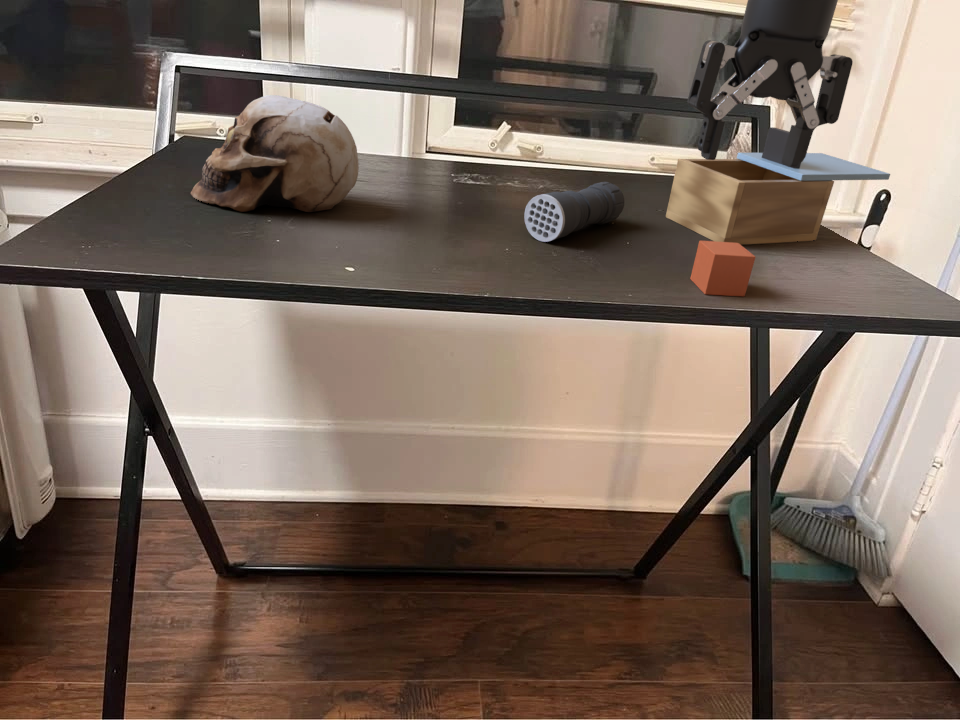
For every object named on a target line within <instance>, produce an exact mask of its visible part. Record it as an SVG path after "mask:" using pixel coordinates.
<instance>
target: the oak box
mask: <svg viewBox="0 0 960 720" xmlns="http://www.w3.org/2000/svg"><path fill="white" fill-rule="evenodd" d="M834 184H835V180H822V181H800V180H797V179H794V178H792V177H789V176H786V175H783V174H780V173H777V172H774V171H772V170H769V169H766V168H763V167H760V166H757V165H754V164H752V163H749V162H746V161H743V160H740V159H737V158H716V159H715V160H707V159H705V158H678V159H677V162H676V167H675V172H674V175H673V180H672V185H671V190H670V194H669V200H668V204H667V208H666V212H665V213H666V214H665V218H667V219H668V220H671V221H673V222H674V223H676V224H679V225H681V226H682V227H684V228H687V229H688V230H690V231H692V232H695V233H697V234H699V235H701V236H702V237H705V238H707V239H709V241H716V242H731V243H739V244H740V245H741V246H743V245H760V244H775V243H776V244H777V243H794V242H797V241H798V242H814V241H813V240H815V241H817V238H818V234H819V231H820V228H821V225H822V222H823V219H824V216H825V212H826V210H827V206H828V204H829V199H830V197H831V194H832V190H833V187H834Z"/></svg>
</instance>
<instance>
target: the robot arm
mask: <svg viewBox="0 0 960 720" xmlns="http://www.w3.org/2000/svg"><path fill="white" fill-rule="evenodd" d="M838 1H839V0H747V2H746V7H745V10H744V14H743V19H742V21H741V22H742V23H741V28H740V34H739V38H738V40H737V41H736V42H735V44H734V45H728V44H725V43H722V42H719V41H716V40H712V39H709V40H705V42H703V44H702V47H701V50H700V55H699V58H698V62H697V65H696V67H695V68H696V69H695V72H694V75H693V79H692V83H691V86H690V90H689V93H688V98H687V104H688V106H689V107H691V108H693V109H695V110H696V111H699V112H700V113H701V114H702V117H703V120H702V123H701V129H700V133H699V139H698V140H697V150H698V151H699V152H700V157H702V159H707V160H715V159H717V155H718V151H719V149H720V143H721V139H722V135H723V132H724V131H723V130H724V128H725V123H726V121H724V120H723V119H724V118H725V117H726V116H727V115H728V114H729V113H730V112H731V111H732V110H733V109H734V108H735V107H736V106H737V105H739V104H741V103H743V102H744V101H745V100H746V99H747V98H748V97H749V96H750V97H753V98H759V99H766V98H773V99H775V100H778V101H785V102H786V104H787V105H788V106H789V109H790V111H791V114H792V116H793V118H794V121H795V124H791V126H790V128H789V136H788V139H787V142H786V146H785V149H784V153H783V156H782V164H784V165H786V166H788V167H794V168H796V167H797V166H798V165H799V162H802V161H803V160H804V158H805V157H806V153H808V149H809V146H810V143H811V140H812V137H813V133H814V131H815V129H817V127H820V126H823V125H826V124H829V125H833V124H836V123H837V122H838V120H839V118H840V114H841V109H842V106H843V102H844V98H845V94H846V91H847V86H848V83H849V80H850V75H851V71H852V67H853V63H854V62H853V59H852V58H851V57H850V56H846V55H843V54H835V53H833V54H830V55H823V45H824V43H825V41H826V39H827V37H828V36H829V32H830V29H831V25H832V23H833V18H834V15H835V12H836V9H837V4H838ZM729 60H730V61H731V64H732V66H733V69H734V71H735V72H734V73H733V74H732V75H731V76H730V77H729V78H728V79H727V80H726V81H725V82H724V83H723V84H722V85H721V86H720V87H719V91H718V92H717V93H716V94H715V95H713V92H714V89H715V86H716V83H717V79H718V75H719V72H720V70H722V69H724V68H725V66H726V65H727V63H728V61H729ZM818 72H819V76H820V79H821V83H820V86H819V91H818V94H817V100H815V98H814V94H813V91H812V89H811V86H810V83H809V80H810V79H812V78H813V76H814V75H815V74H816V73H818ZM712 96H713V97H712ZM815 102H816V103H815Z"/></svg>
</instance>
